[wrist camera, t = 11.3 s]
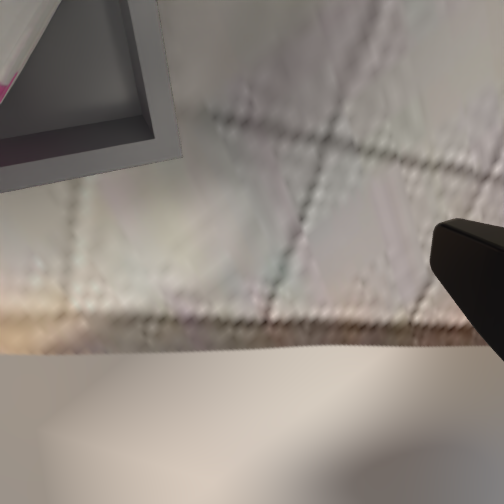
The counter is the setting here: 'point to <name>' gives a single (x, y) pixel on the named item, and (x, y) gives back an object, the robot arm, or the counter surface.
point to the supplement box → (20, 35)
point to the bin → (90, 97)
